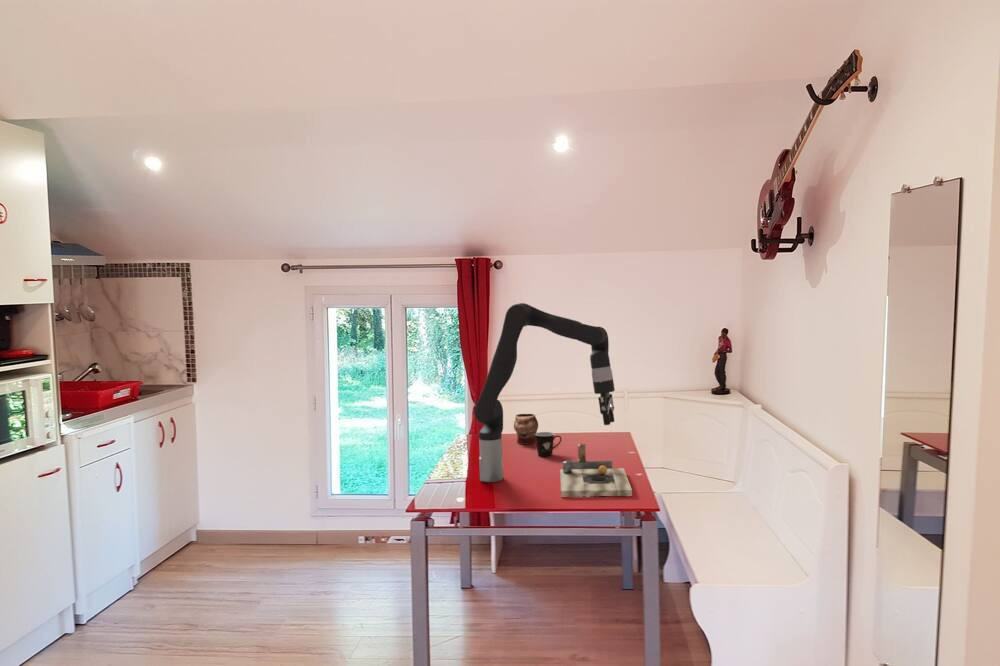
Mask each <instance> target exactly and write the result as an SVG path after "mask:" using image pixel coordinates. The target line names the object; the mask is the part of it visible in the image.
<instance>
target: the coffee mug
mask: <svg viewBox="0 0 1000 666" xmlns="http://www.w3.org/2000/svg"><path fill="white" fill-rule="evenodd" d="M535 437H536V442H535V444H536V450H537V456H538V457H539V458H551V457H552V456H553V452H554V451H553V450H554V449H555V448H556V447H558V446H559V445H560V444H561V443H562V436H560V435H555V433H553V432H551V431H540V432H537V433H536V434H535ZM557 437H558V438H559V439H560V440H559V442H558V443H557V444H556V445H554V441H555V438H557Z"/></svg>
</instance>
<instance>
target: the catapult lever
mask: <svg viewBox="0 0 1000 666" xmlns="http://www.w3.org/2000/svg"><path fill="white" fill-rule="evenodd" d="M586 451H587V450H586V443H578V444H577V457H578V458H577V459H578V460H572V461H571V460H563V461H562V469H563V473H565V474H570V473H572V469H599V467H600V466H601V465H604V466H606V467H607V469H612V468H613V460H587V454H586V453H587V452H586Z"/></svg>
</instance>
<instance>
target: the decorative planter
mask: <svg viewBox="0 0 1000 666" xmlns="http://www.w3.org/2000/svg"><path fill="white" fill-rule="evenodd" d="M513 429H514V431H515V432H516V435H517V439H516V443H517V444H520V445H532V444H536V437H535V434H536V433H538V429H539V422H538V420H537V417H536V415H535V413H519V414H516V415H515V420H514V423H513Z"/></svg>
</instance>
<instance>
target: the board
mask: <svg viewBox="0 0 1000 666" xmlns="http://www.w3.org/2000/svg"><path fill="white" fill-rule="evenodd" d="M559 475H560V477H559V478H560V496H561V497H571V498H583V497H582V496H586V497H585V498H594V497H593V496H632V497H633V489H632V487H631V484H630V482H629V479H628V476H627V474H626V471H625V468H623V467H617V468H616V467H615V468H613V467H612V469H607V472H606V473H605V474H601V473H599V470H598V469H572V473H570V474H565V473H563V468H562V469H559ZM573 496H574V497H573ZM578 496H579V497H578ZM591 496H592V497H591Z"/></svg>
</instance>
